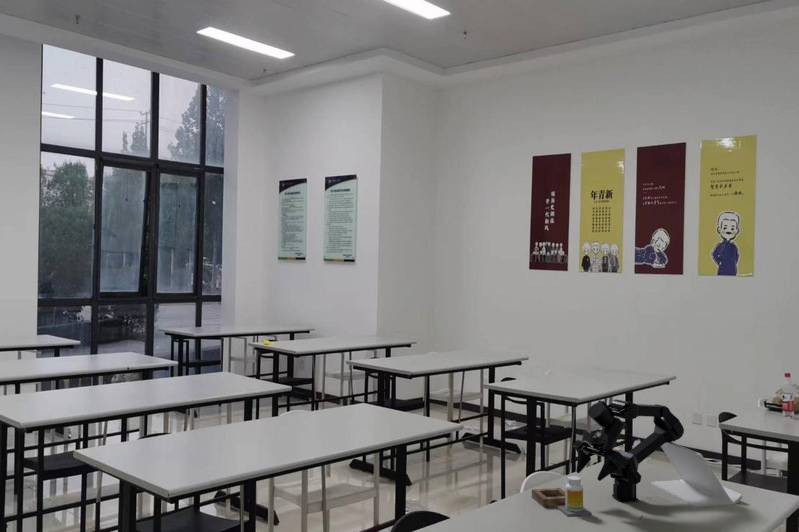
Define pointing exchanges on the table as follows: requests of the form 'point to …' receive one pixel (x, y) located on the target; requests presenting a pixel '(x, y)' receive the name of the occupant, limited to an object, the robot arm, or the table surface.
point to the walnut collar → (549, 497)
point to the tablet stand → (694, 479)
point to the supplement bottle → (574, 494)
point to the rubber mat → (572, 513)
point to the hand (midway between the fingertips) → (587, 476)
